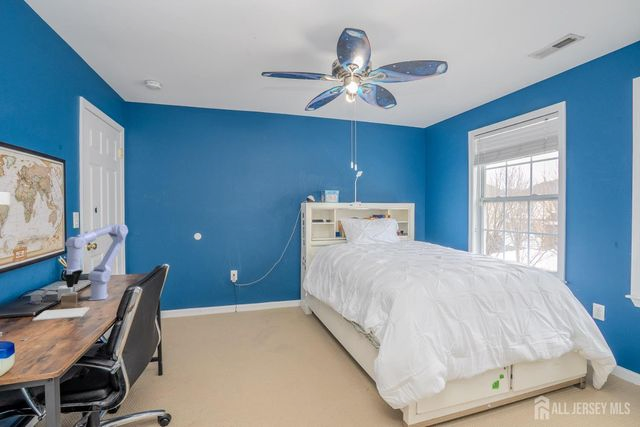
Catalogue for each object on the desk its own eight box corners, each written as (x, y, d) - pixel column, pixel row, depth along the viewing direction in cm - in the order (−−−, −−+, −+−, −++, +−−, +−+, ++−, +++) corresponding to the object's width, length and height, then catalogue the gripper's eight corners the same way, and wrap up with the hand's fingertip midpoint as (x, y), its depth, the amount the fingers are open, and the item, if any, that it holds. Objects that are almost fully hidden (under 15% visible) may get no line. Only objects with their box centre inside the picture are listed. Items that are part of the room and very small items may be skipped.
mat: (44, 311, 150) (44, 310, 150) (89, 308, 157) (89, 307, 157) (32, 321, 137) (32, 319, 137) (81, 316, 145) (81, 315, 145)
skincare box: (74, 298, 173) (75, 285, 173) (70, 301, 167) (71, 287, 167) (61, 299, 171) (62, 285, 171) (56, 302, 165) (57, 288, 165)
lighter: (30, 304, 159) (30, 289, 159) (31, 303, 160) (32, 288, 160) (48, 303, 162) (48, 288, 162) (49, 302, 164) (49, 287, 164)
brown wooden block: (62, 308, 155) (63, 292, 155) (76, 307, 158) (77, 292, 158) (60, 310, 153) (61, 294, 153) (75, 309, 155) (76, 293, 155)
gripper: (69, 258, 165) (67, 283, 165) (59, 261, 152) (57, 289, 152) (85, 258, 168) (83, 282, 168) (77, 261, 155) (75, 288, 155)
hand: (72, 285), depth 160 cm, fingers open, 7 cm apart
